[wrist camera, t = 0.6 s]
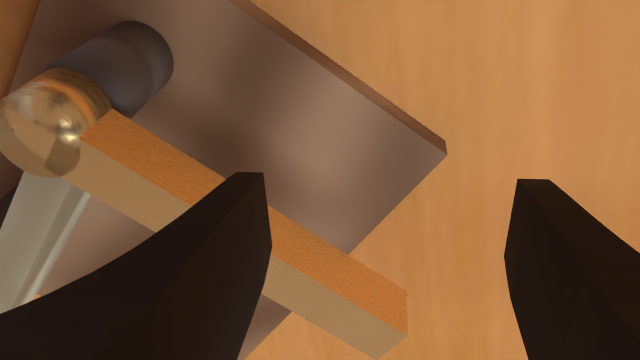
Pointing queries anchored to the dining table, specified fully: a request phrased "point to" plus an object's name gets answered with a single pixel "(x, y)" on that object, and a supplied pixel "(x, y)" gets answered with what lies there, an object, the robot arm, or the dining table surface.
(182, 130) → the wooden base plate
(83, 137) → the latch bar
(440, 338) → the dining table surface
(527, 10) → the dining table surface
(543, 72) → the dining table surface
